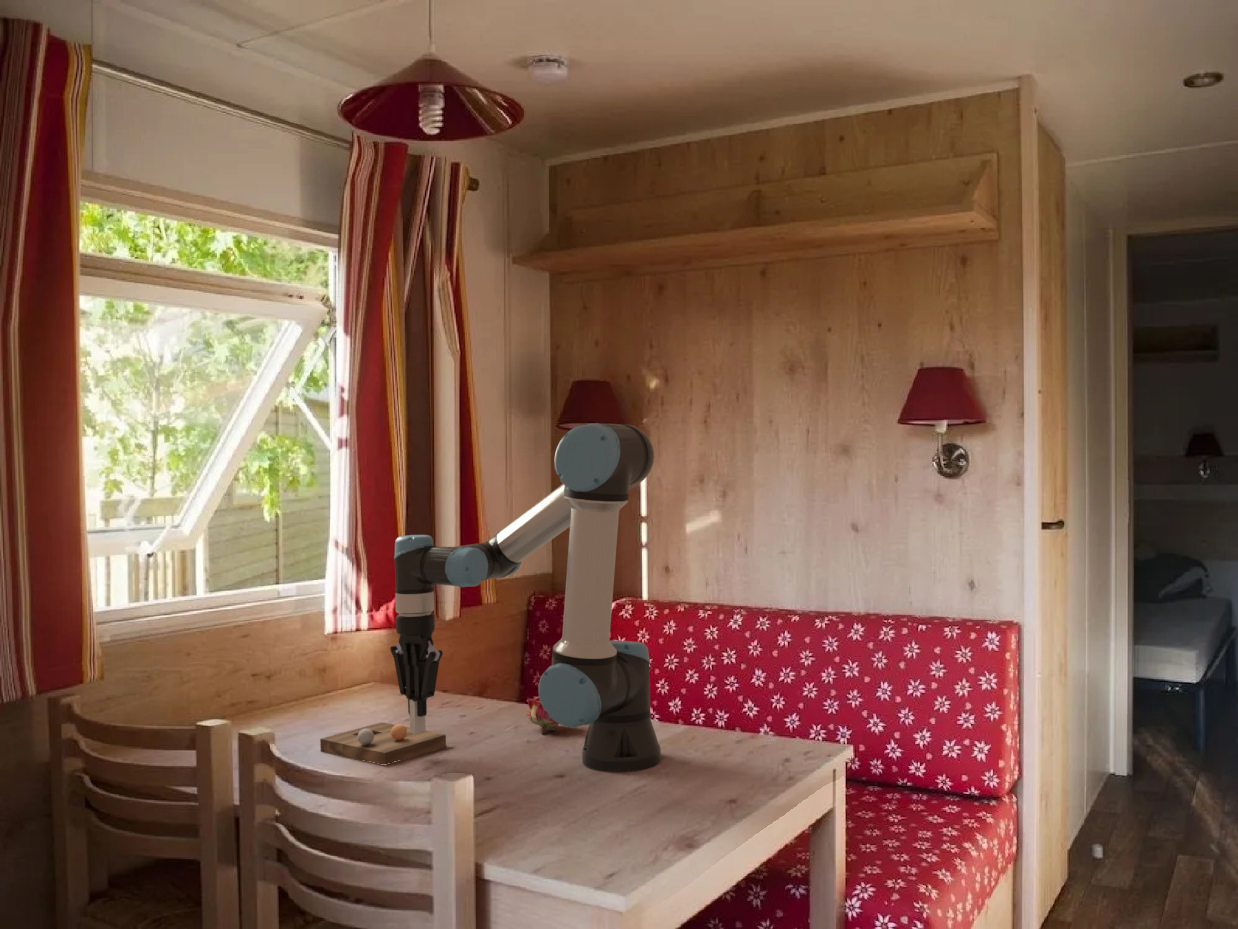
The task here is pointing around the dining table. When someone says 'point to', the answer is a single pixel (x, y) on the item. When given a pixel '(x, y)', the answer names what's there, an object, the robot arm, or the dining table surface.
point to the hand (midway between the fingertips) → (417, 731)
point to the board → (382, 744)
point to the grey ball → (365, 736)
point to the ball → (399, 732)
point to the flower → (540, 715)
